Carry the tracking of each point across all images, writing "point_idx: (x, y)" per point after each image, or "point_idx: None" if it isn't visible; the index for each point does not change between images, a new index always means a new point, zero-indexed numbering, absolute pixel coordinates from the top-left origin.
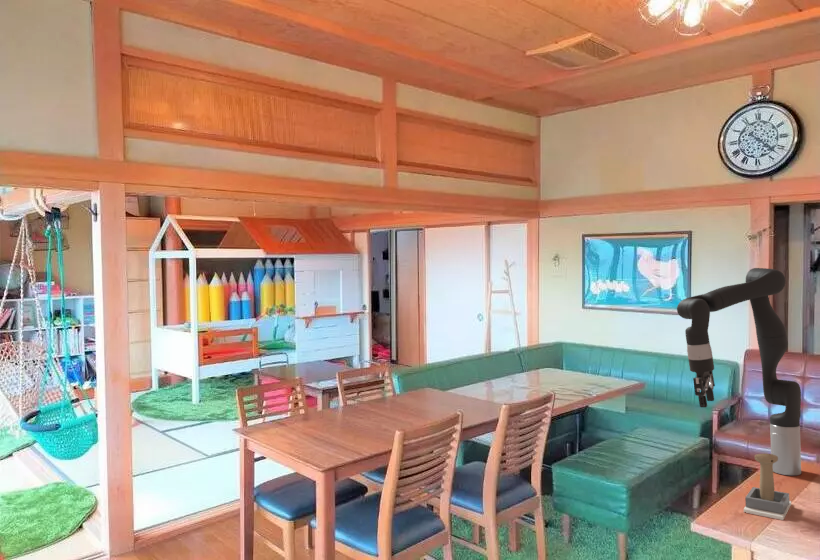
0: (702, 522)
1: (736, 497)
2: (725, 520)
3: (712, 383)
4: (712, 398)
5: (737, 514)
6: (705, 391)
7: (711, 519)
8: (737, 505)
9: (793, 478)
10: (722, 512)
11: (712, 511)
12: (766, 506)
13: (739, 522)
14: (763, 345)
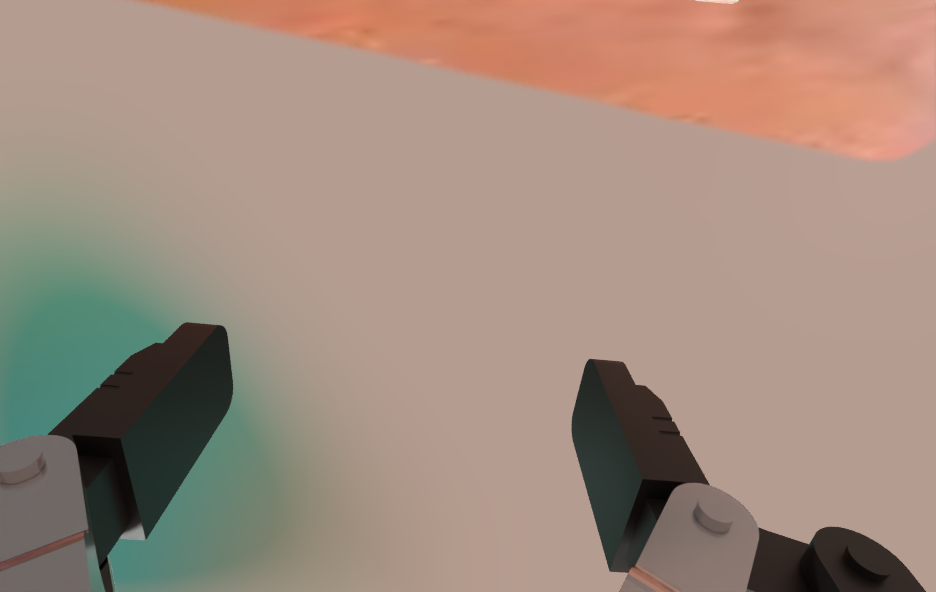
0: (909, 151)
1: (540, 59)
2: (860, 66)
3: (24, 585)
4: (206, 353)
5: (767, 27)
6: (681, 564)
7: (864, 123)
8: (648, 42)
9: None
10: (763, 92)
11: (764, 132)
12: None
13: (868, 5)
14: None
